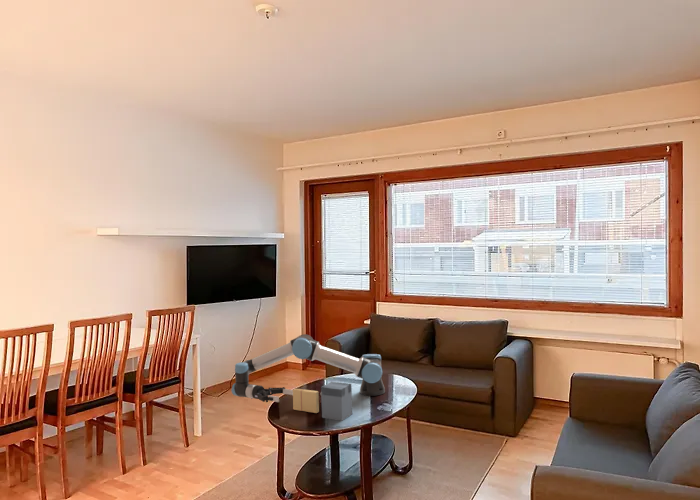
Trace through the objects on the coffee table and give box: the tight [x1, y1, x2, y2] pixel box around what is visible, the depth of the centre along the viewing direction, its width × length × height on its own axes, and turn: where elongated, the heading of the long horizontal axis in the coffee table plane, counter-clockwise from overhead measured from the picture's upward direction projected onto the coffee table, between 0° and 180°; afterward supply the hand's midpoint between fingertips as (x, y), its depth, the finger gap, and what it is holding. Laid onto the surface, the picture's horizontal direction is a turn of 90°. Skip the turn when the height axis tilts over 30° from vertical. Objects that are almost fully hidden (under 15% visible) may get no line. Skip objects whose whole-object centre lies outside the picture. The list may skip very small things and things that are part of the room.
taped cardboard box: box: [292, 387, 320, 414], centre depth 272 cm, size 15×3×11 cm, turn 62°
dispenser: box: [319, 381, 353, 421], centre depth 263 cm, size 13×11×16 cm
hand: (285, 395), depth 278 cm, fingers open, 13 cm apart
